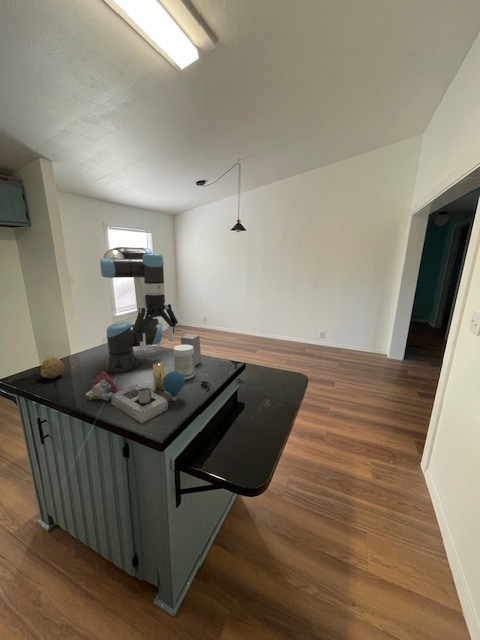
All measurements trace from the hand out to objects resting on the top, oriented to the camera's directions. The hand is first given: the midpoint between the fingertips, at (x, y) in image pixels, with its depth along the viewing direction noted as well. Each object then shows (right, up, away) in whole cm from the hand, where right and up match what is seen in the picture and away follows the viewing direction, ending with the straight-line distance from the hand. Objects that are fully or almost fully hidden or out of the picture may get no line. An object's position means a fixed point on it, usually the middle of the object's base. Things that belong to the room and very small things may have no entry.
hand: (157, 344), depth 106 cm
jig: (-4, -23, -9) cm, 25 cm away
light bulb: (+8, -22, -4) cm, 24 cm away
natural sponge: (-53, -17, +14) cm, 57 cm away
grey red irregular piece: (-21, -21, -2) cm, 30 cm away
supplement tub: (+7, -17, +18) cm, 26 cm away
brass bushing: (-1, -20, +4) cm, 20 cm away
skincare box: (+8, -14, +34) cm, 37 cm away
